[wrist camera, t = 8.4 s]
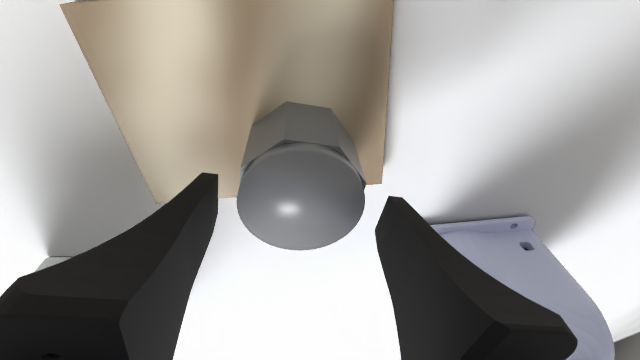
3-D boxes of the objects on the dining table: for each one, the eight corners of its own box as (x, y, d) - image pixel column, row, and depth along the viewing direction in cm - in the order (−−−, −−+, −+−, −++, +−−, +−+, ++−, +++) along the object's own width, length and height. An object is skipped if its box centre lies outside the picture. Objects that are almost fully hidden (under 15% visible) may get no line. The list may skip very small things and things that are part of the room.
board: (388, -24, 13) (395, -23, 12) (378, 173, 19) (381, 183, 18) (74, 1, 13) (59, 4, 12) (162, 193, 19) (156, 203, 18)
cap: (367, 160, 17) (386, 215, 13) (290, 204, 18) (289, 265, 15) (312, 82, 14) (318, 125, 11) (228, 141, 16) (208, 196, 12)
